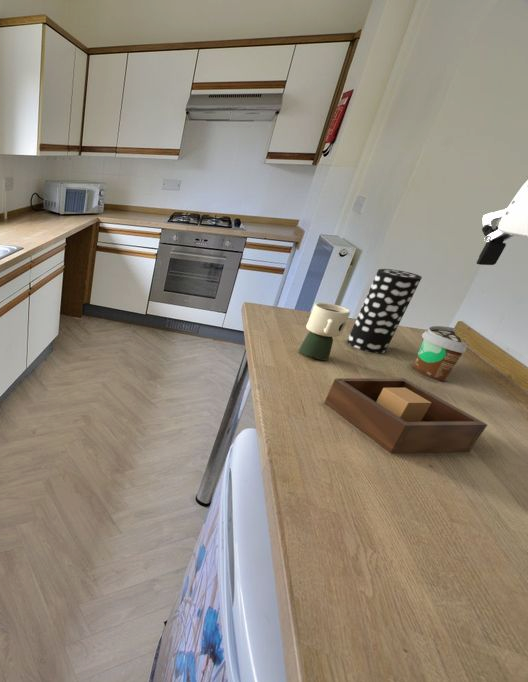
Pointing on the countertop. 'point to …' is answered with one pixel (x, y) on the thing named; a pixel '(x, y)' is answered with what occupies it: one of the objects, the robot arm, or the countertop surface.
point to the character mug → (323, 329)
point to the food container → (439, 352)
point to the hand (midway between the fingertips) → (515, 271)
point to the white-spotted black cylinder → (383, 310)
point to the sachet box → (404, 403)
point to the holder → (394, 433)
